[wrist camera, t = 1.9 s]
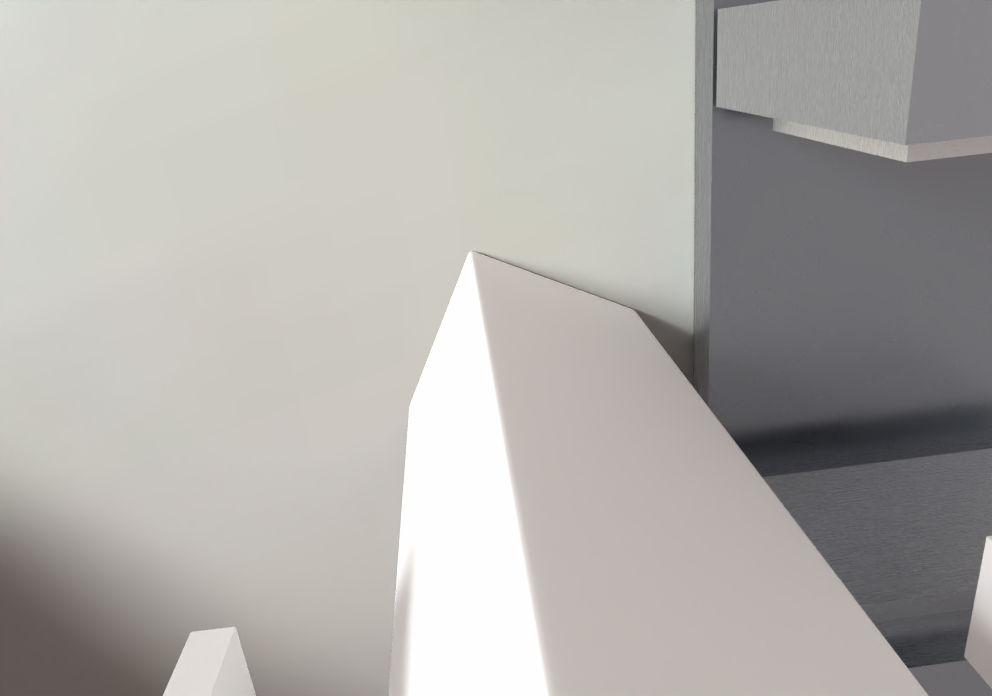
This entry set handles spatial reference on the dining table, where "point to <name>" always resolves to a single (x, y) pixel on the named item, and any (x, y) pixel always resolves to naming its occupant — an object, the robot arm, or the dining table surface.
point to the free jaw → (864, 73)
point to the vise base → (854, 357)
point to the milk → (599, 523)
